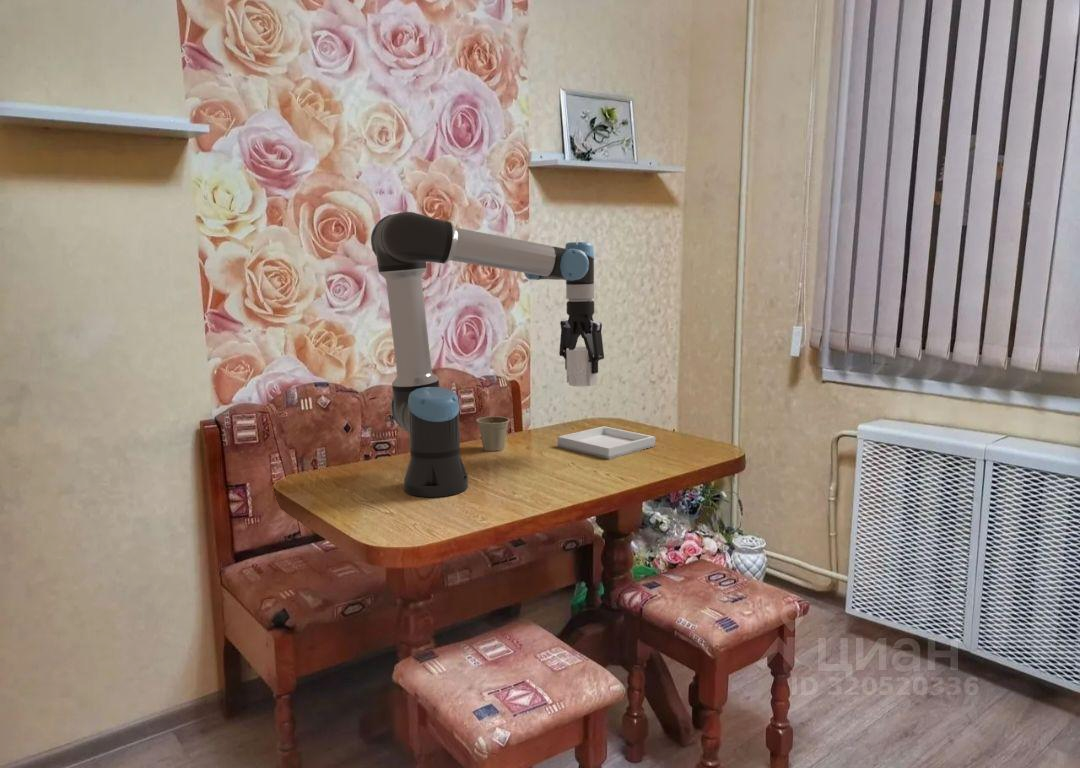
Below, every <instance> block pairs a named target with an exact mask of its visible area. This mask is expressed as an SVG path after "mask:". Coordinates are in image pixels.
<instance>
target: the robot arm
mask: <svg viewBox="0 0 1080 768" xmlns="http://www.w3.org/2000/svg"><path fill="white" fill-rule="evenodd" d="M370 235H371V236H370V244H371V249H372V251H373V252H374V255H375V257H376V262H377V269H378V273H379V275H380V276H381V277H383V278H384V280H385V284H386V292H387V302H388V308H389V318H390V326H391V333H392V334H391V335H392V342H393V352H394V358H395V359H394V360H395V370H396V377H395V378H394V380H392V382H391V387H392V394H393V396H392V399H391V402H390V411H391V414H392V417H393V419H394V421H395V422H396V424H397V425H398V426H399V427H400V428H402V429H403V430H404V431H406V432H407V433H409V450H410V451H409V452H410V454H409V455H410V458H409V462H408V465H407V469H406V473H405V477H404V479H403V488H404V489H403V491H404V492H405V493H407V494H409V495H411V496H414V497H422V498H441V497H447V496H453V495H458V494H461V493H462V492H465V491H466V490H467V489H468V488H469V478H468V477H469V476H468V475H467V471H466V469H465V465H464V463H463V460H462V457H461V448H460V447H461V444H460V443H461V442H460V441H461V440H460V438H461V437H460V408H461V407H460V403H459V397H458V396H459V395H457V393H456V392H455V391H453V390H451V389H449V388H446V387H445V388H443V387H441V386H440V380H439V379H440V378H439V376H437V375H435V374H434V373H433V372H432V362H431V353H430V344H429V342H430V341H429V333H428V324H427V315H426V308H425V307H426V305H425V298H424V287H423V279H422V278H423V277H422V276H423V274H425V272H426V271H427V268H428V267H427V263H438V264H444V265H445V264H447V263H448V262H449V261H451V262H458V263H464V264H470V265H474V266H475V265H476V266H481V267H487V268H488V267H489V268H494V269H499V270H505V271H511V272H517V273H522V274H524V276H525V277H526V279H528V280H535V281H536V280H537V281H539V280H553V281H554V280H558V281H560V280H561V281H565V285H566V286H565V287H566V290H565V291H566V293H565V294H566V296H565V297H566V299H567V302H566V314H567V315H568V318H567V320H561V321H560V341H559V353H558V354H559V356H560V357H563V358H564V364H565V366H564V367H565V368H564V369H565V370H566V383H568V384H569V380H568V371H567V356H566V349H567V348H569V350H574V349H575V347H577V343H578V340H579V337H580V336H581V338H582V339H583V342H584V345H585V347H586V349H587V350H588V355H589V359H590V360H589V361H588V386H587V387H591V386H597V384H598V383H597V382H598V376H597V375H598V373H599V361H601V360H604V359H605V353H604V345H603V338H602V337H603V336H602V327H603V323H602V322H599V321H598V322H596V321H594V317H593V316H594V314H595V301H594V300H593V299H595V253H594V252H595V250H594V246H593V243H591V242H589V241H574V242H573V241H572V242H566V243H565V246H564V247H565V248H564V247H558V246H553V245H549V244H543V243H540V242H539V243H537V242H533V241H527V240H522V239H517V238H513V237H508V236H501V235H497V234H491V233H486V232H480V231H475V230H470V229H465V228H460V227H459V228H458V227H455V225H454V224H453V223H452V222H451V221H448V220H443V219H438V218H435V217H431V216H428V215H425V214H422V213H418V212H413V211H402V212H398V213H393V214H388V215H386V216H384V217H382V218H381V219H380V220H379V221H377V223H376V224H375V225H374V227H373V229H372V232H371V234H370ZM593 356H594V357H593Z"/></svg>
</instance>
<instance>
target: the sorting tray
mask: <svg viewBox="0 0 1080 768" xmlns="http://www.w3.org/2000/svg"><path fill="white" fill-rule="evenodd" d="M653 446H655V447H656V436H653V435H648V434H645V433H644V434H643V433H639V432H634V431H630V430H624V429H619V428H614V427H610V426H605V425H603V426H598V427H595V428H589V429H586V430H581V431H577V432H573V433H568V434H562V435H560V436H559V435H558V436H557V447H559V448H562V449H566V450H570V451H574V452H578V453H581V454H587V455H590V456H594V457H598V458H602V459H606V460H612V459H614V458H615V459H616V458H619V457H623V456H626V454H627V455H630V454H629V453H631V454H633V452H634V453H638V452H641V451H640V450H642V451H644V450H643V449H645V450H647V449H646V448H649V449H651V448H650V447H653ZM653 448H654V447H653ZM637 451H638V452H637Z"/></svg>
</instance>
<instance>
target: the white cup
mask: <svg viewBox="0 0 1080 768" xmlns="http://www.w3.org/2000/svg"><path fill="white" fill-rule="evenodd" d="M566 356H567V370H566V372H567V371H568V380H569V383H568V385H569V386H572V387H589V386H588V361H589V360H590V359H589V355H588V350H587V349H586V346H576V347H575V349H574V350H569V348H567V349H566ZM593 357H594V356H593Z"/></svg>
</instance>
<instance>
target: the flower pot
mask: <svg viewBox="0 0 1080 768" xmlns="http://www.w3.org/2000/svg"><path fill="white" fill-rule="evenodd" d="M510 421H511V420H510V418H508V417H504V416H497V415H496V416H494V415H493V416H483V417H479V418H477V419H476V423H477V424H478V425H477V426H478V427H479V430H480V431H479V432H480V439H481V444H482V449H483V450H484V451H486V452H495V451H499V452H501V451H503V450H505V448H506V447H505V446H506V445H505V444H506V436H507V430H508V429H507V428H508V426H509V423H510Z"/></svg>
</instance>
